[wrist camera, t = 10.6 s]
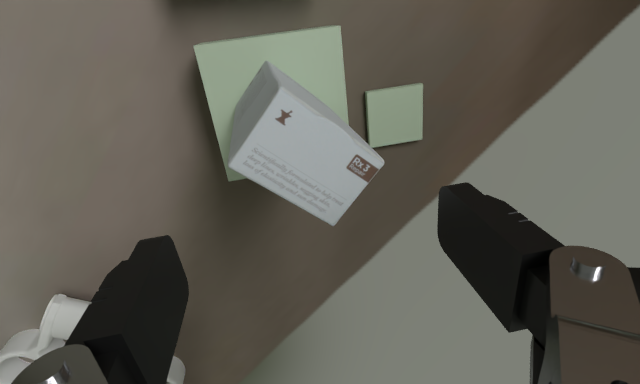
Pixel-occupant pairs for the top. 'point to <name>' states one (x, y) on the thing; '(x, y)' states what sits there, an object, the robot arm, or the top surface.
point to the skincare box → (299, 146)
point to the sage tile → (394, 114)
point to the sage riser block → (283, 52)
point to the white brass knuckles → (55, 339)
